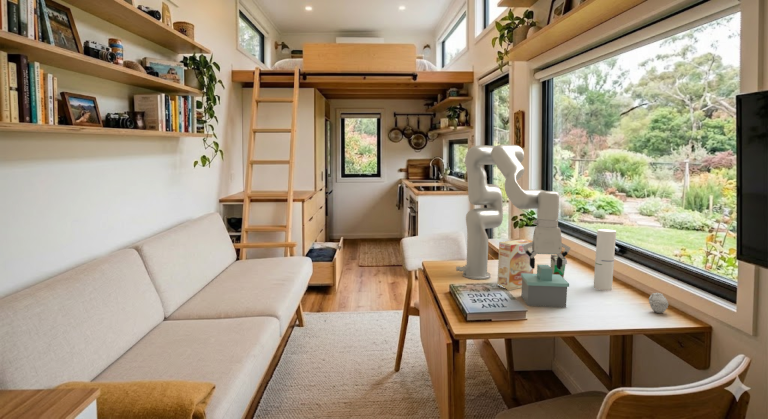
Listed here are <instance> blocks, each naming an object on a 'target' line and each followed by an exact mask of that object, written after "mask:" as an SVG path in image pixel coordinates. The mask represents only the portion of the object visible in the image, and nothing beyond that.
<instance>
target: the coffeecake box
mask: <svg viewBox="0 0 768 419" xmlns="http://www.w3.org/2000/svg"><path fill="white" fill-rule="evenodd" d="M530 242H533V240H528V239H524V238H523V239H514V240H508V241H499V246H498V260H497V262H498V263H497V264H498V266H497V283H496V284H499V285H502V286H503V287H505V288H506V289H507V291H513V290H517V289H522V277H521V273H529V274H534V269H532V268H531V266H530V257H529V256H528V255H527V254H526V252H525V250H524V248H523V246H524V245H526V244H528V243H530ZM528 251H529V252H530V253H531V252H532V251H533V250H532V246H531V247H529V248H528ZM506 289H505V290H506Z"/></svg>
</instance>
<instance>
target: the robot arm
mask: <svg viewBox="0 0 768 419" xmlns="http://www.w3.org/2000/svg"><path fill="white" fill-rule="evenodd" d="M524 158H525V152H524V150H523V148H522V147H521V146H520V145H517V144H498V145H483V144H482V145H481V144H480V145H474V146H472V147H470V148H469V149H468V150H467V151H466V154H465V158H464V164H465V168H466V172H467V193H468V195H467V196H468V197H467V198H468V201H469V203H470V204H471V205H473V206H486V207H476V208H472V209H470V210H469V211H467V213H466V215H465V224H466V232H467V233H466V234H467V236H466V237H467V238H466V239H467V241H466V242H467V243H466V245H467V246H466V264H464V266H456V268H455V269H456V272H461V273H462V276H463V277H464V278H467V279H472V280H487V279H490V278H491V273H490V272H488V261H489V260H488V259H489V256H488V255H489V235H488V234H487V231H486V229H496V228H498V227H499V228H500V226H501V225H502V224H503V218H504V217H503V216H504V210H503V208H504V206H503V193H502V190H501V188H500V187H499V186H498V185H497V184H494V183H488V180H487V178H488V176H487V172H486V170H485V168H484V167H483V166H482V165H488V166H489V165H491V166H492V165H495V166H496V167H497V168H498V170H499V171H500V173H501V174H502V176H503V177H504V178H505V181H504V190H505V194H506V197H507V198H508V199H509V200H510V202H511V204H512V205H514V207H515V208H517V209H519V210H534V209H535V210H536V209H537V213H536V214H537V216H536V220H533V221H532V224H533V225H536V226H534V231H533V235H532V241H533V242H530V243H528V244H526V245H524V246H523V248H524V250H525V252H526V254H527V255H528V256H529V257H530V266H531V268H532V269H533V270H534V269H535V267H536V266H535V265H536V260H535V259H536V258H535V256H536V255H558V257H557V268H558V269H561V267H562V259H563V258H564V257H565V258H566V256H567V255H568V253H569V252H570V250H571V247H570V246H568V245H567V244H565V243H562V230H561V228H560V227H559V210H560V209H559V206H560V194H559V192H558V191H553V190H543V189H536V188H535V189H532V188H531V189H523V188H522V187H521V186H520V185H519V183H518V182H517V181H518V180H520V178H522V176H523V175H524V174H525V171H526V170H525V167H524V166H523V164H522V162H523V161H524ZM531 246H532V250H533V251H532V252H531V253H530V252H529V251H528V248H529V247H531ZM563 248H564V250H563ZM562 250H563V251H562Z"/></svg>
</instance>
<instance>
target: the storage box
mask: <svg viewBox="0 0 768 419" xmlns="http://www.w3.org/2000/svg"><path fill="white" fill-rule="evenodd" d="M567 297H568V287H558V286H532V285H527V284H526V283H525V281H524V280H523V278H522V288H521V298H522V300H523V301H524V302H525V304H526V306H528V307H531V306H532V307H550V308H551V307H552V308H567V301H568V300H567Z"/></svg>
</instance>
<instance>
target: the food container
mask: <svg viewBox="0 0 768 419" xmlns="http://www.w3.org/2000/svg"><path fill="white" fill-rule="evenodd" d="M557 257H558V255H557V254H550V267H551V268H552V269H553V270H552V274H557V275H561V276H562V277H563V278H564V279H565V271H566V265H567V264H568V261H567V260H568V259H567V258H566V256H565V257H564V258H563V259H562V267H561V269H558V268H557Z"/></svg>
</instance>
